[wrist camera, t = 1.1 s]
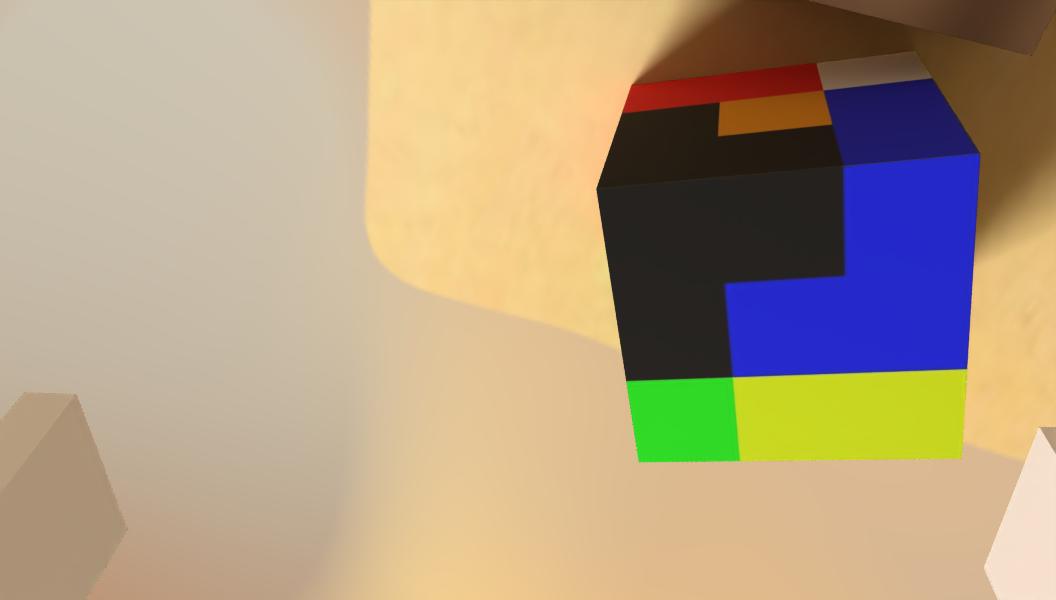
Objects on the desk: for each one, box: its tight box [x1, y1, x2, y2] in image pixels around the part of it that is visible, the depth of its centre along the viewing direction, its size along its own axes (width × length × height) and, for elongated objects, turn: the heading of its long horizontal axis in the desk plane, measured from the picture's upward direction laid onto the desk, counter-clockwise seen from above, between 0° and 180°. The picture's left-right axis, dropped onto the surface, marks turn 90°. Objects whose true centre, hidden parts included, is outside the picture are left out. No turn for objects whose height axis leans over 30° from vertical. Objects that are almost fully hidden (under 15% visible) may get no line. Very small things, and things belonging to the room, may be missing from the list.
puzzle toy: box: [596, 51, 980, 462], centre depth 31 cm, size 10×10×10 cm
